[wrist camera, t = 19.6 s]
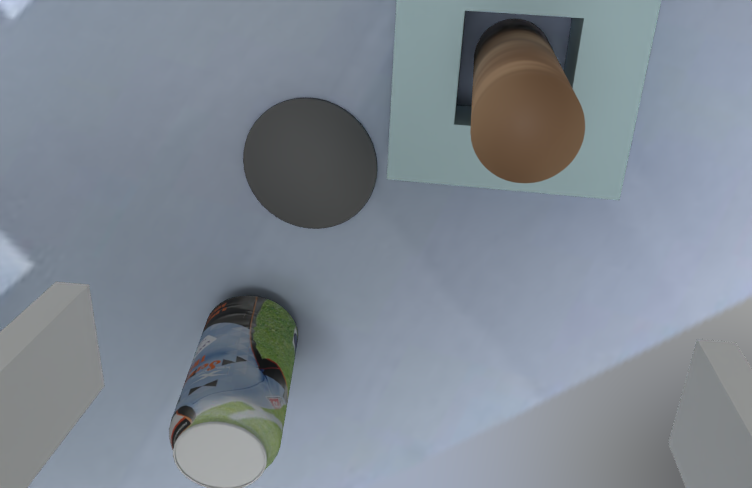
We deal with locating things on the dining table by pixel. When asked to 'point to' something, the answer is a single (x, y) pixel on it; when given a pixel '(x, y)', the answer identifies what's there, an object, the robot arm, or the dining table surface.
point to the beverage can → (235, 394)
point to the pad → (310, 163)
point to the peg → (522, 105)
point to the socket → (453, 122)
